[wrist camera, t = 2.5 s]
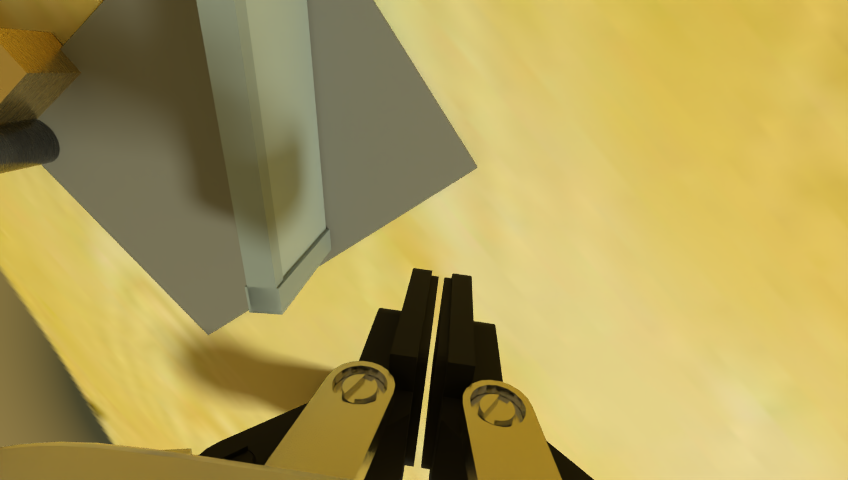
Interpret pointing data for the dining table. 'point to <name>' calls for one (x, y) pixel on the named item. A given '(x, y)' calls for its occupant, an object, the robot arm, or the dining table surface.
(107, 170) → the mat
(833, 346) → the dining table surface
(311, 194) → the gate
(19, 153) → the stile
